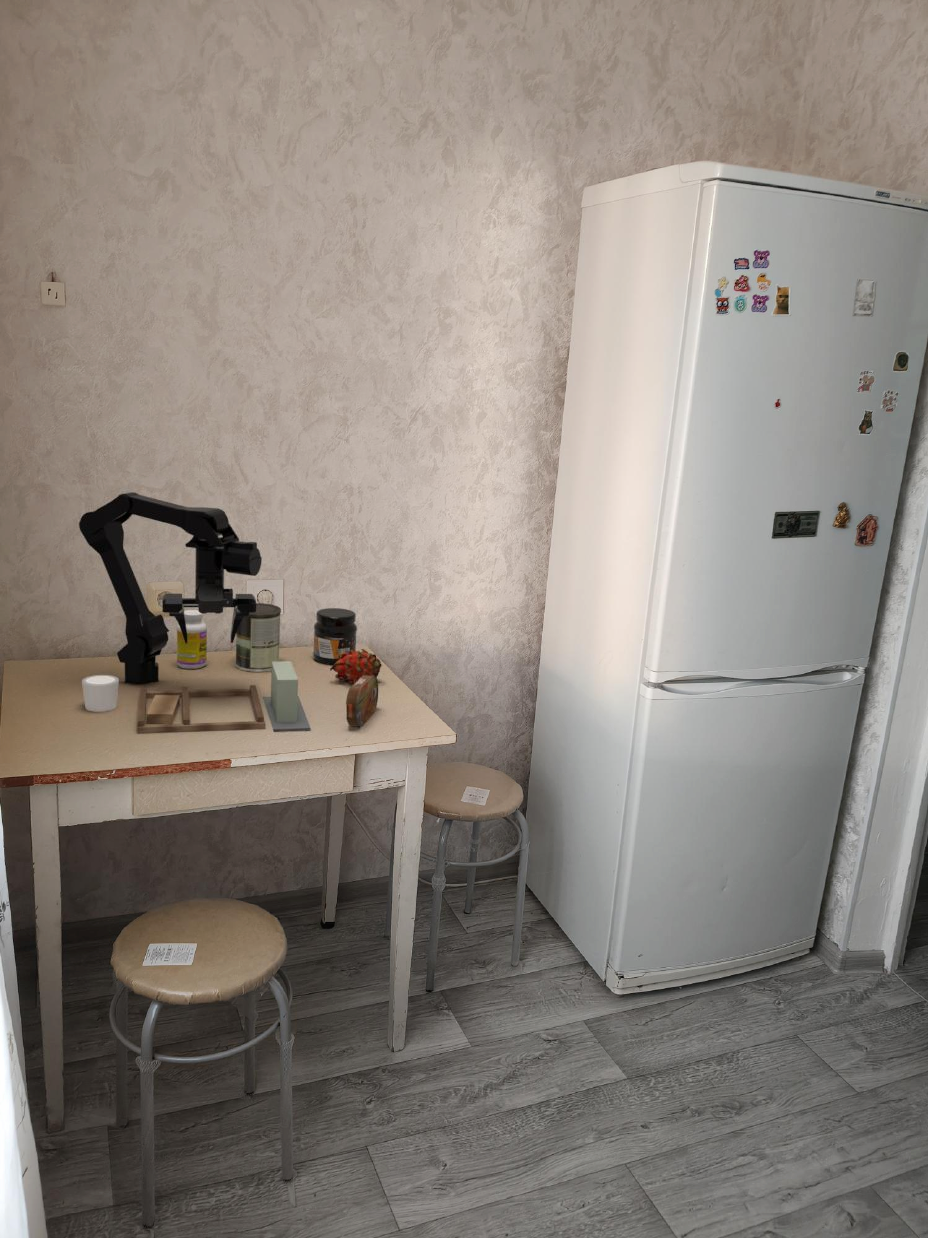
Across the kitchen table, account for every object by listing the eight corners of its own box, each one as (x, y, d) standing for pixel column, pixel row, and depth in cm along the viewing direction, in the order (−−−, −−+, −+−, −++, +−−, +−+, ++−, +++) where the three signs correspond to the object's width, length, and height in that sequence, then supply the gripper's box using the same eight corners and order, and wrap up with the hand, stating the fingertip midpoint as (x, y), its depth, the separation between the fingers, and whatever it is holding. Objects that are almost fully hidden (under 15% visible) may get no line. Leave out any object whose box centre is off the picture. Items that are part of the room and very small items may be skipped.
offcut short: (146, 723, 181) (146, 714, 181) (155, 704, 192) (155, 695, 191) (172, 724, 182) (172, 714, 182) (179, 704, 193) (179, 695, 192)
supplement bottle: (201, 670, 218) (202, 617, 215) (173, 668, 218) (173, 614, 215) (209, 662, 225) (210, 610, 222) (182, 660, 225) (182, 607, 222)
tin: (357, 732, 189) (359, 692, 187) (342, 730, 190) (344, 690, 187) (378, 708, 203) (381, 671, 201) (364, 706, 204) (366, 669, 202)
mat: (267, 731, 185) (267, 729, 185) (258, 699, 203) (258, 696, 203) (310, 730, 188) (310, 728, 188) (298, 698, 205) (298, 695, 205)
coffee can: (228, 669, 221) (229, 611, 217) (244, 657, 231) (245, 601, 227) (271, 674, 220) (272, 615, 216) (285, 662, 229) (286, 605, 226)
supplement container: (319, 667, 228) (321, 619, 225) (307, 654, 237) (309, 608, 234) (361, 664, 232) (363, 617, 229) (348, 652, 241) (350, 606, 238)
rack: (137, 740, 177) (137, 722, 176) (140, 702, 196) (140, 686, 195) (265, 735, 184) (265, 718, 183) (256, 699, 202) (256, 684, 202)
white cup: (126, 711, 191) (126, 678, 189) (103, 721, 184) (103, 687, 183) (98, 704, 193) (98, 672, 191) (74, 715, 186) (74, 681, 185)
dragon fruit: (385, 689, 220) (333, 697, 217) (378, 660, 225) (327, 667, 222) (385, 668, 213) (332, 676, 211) (378, 638, 218) (326, 646, 216)
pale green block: (276, 722, 189) (277, 680, 187) (270, 702, 200) (271, 661, 198) (296, 722, 190) (298, 679, 188) (289, 701, 201) (290, 661, 199)
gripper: (162, 578, 185) (162, 654, 189) (259, 579, 191) (257, 653, 195) (162, 566, 195) (162, 639, 199) (254, 567, 201) (253, 638, 205)
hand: (209, 642), depth 199 cm, fingers open, 9 cm apart
